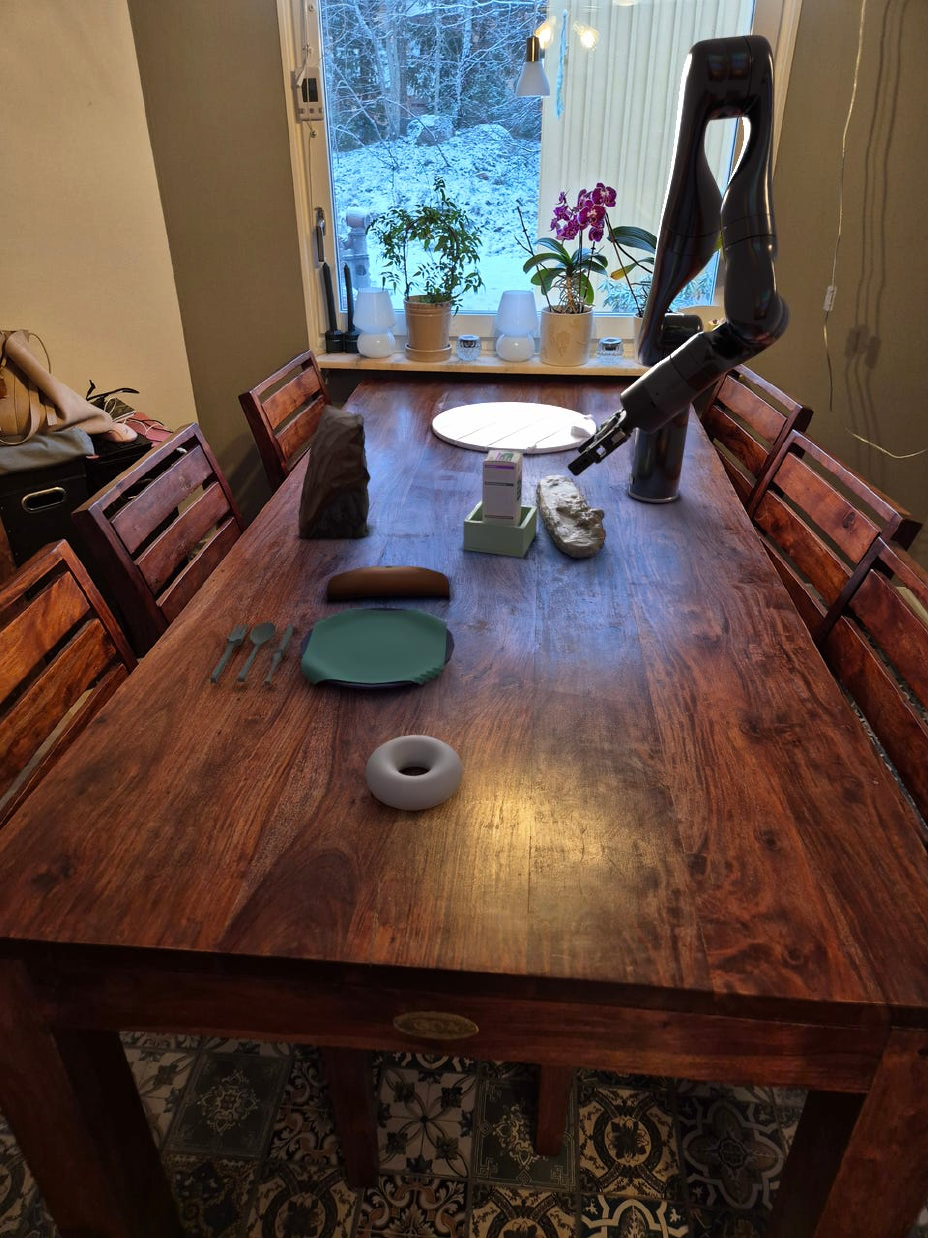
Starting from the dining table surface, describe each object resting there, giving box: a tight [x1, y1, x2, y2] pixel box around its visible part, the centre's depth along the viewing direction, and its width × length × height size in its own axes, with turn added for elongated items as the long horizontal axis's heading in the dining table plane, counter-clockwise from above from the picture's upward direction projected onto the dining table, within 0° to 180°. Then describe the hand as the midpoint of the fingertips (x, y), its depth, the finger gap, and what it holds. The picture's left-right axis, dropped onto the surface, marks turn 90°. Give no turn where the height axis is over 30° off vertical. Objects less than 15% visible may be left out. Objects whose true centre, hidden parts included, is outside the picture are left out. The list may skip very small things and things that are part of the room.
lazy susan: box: [432, 401, 597, 455], centre depth 195 cm, size 40×39×3 cm
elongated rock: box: [535, 473, 607, 558], centre depth 145 cm, size 35×5×10 cm
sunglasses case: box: [326, 564, 451, 601], centre depth 121 cm, size 18×7×7 cm
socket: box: [462, 499, 538, 559], centre depth 137 cm, size 10×10×5 cm
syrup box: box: [481, 450, 524, 526], centre depth 134 cm, size 6×6×14 cm
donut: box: [364, 734, 464, 811], centre depth 83 cm, size 10×4×10 cm
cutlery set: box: [209, 606, 456, 690], centre depth 105 cm, size 20×30×2 cm, turn 89°
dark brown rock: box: [297, 404, 372, 539], centre depth 138 cm, size 13×13×20 cm
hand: (576, 462), depth 128 cm, fingers open, 8 cm apart
